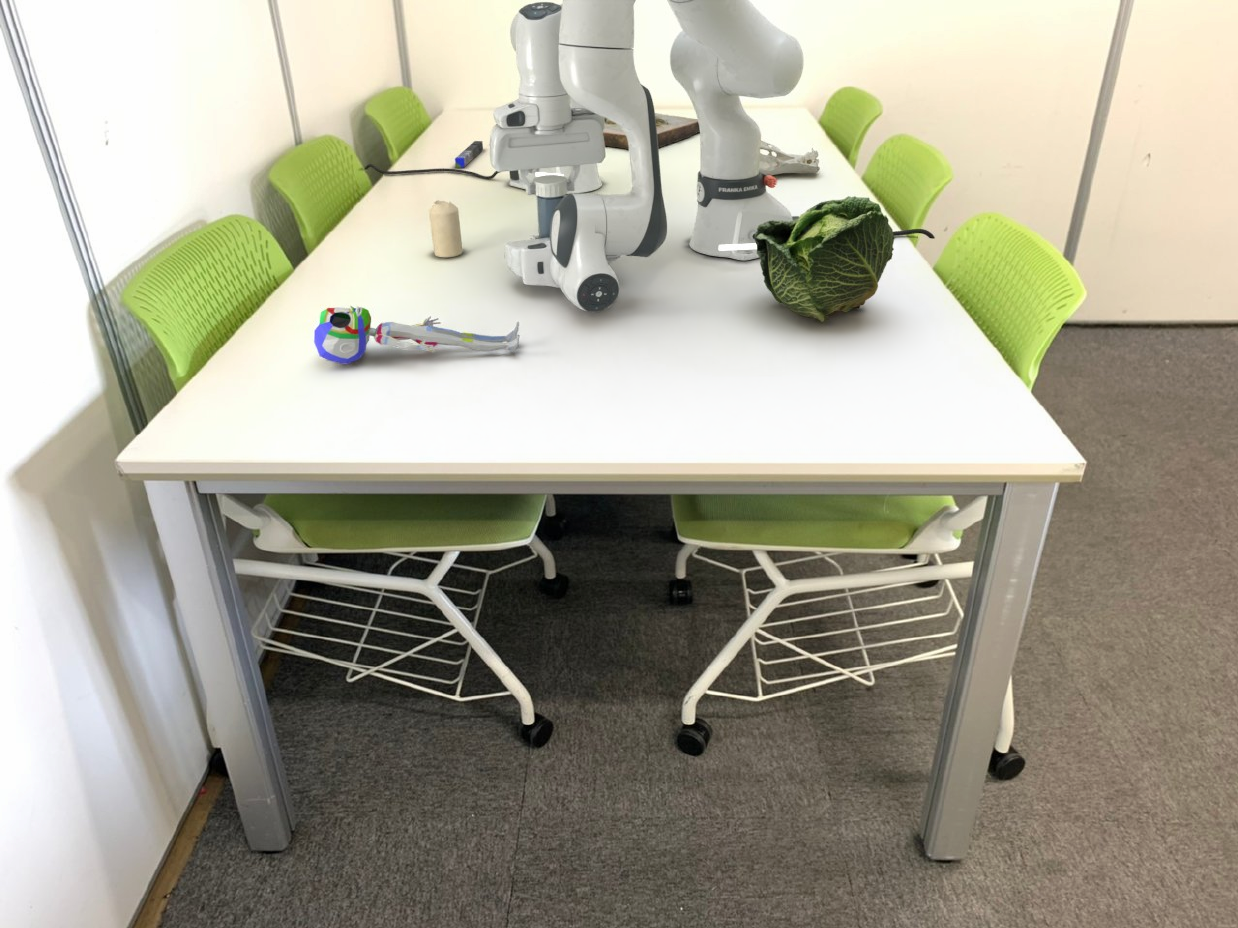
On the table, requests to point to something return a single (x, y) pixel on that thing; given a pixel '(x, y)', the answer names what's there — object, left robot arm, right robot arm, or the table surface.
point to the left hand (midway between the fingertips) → (550, 192)
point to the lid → (550, 185)
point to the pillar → (468, 154)
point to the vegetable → (826, 256)
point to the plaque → (666, 130)
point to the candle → (445, 229)
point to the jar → (546, 213)
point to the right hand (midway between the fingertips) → (551, 237)
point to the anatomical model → (787, 161)
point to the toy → (392, 335)
